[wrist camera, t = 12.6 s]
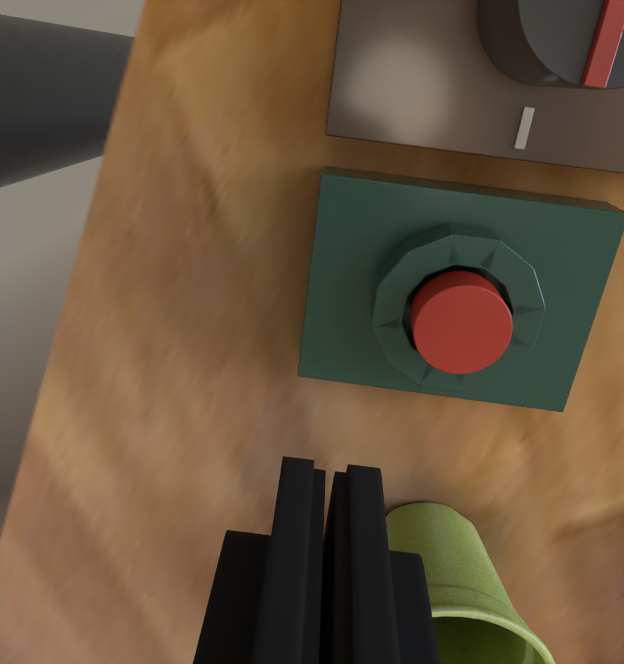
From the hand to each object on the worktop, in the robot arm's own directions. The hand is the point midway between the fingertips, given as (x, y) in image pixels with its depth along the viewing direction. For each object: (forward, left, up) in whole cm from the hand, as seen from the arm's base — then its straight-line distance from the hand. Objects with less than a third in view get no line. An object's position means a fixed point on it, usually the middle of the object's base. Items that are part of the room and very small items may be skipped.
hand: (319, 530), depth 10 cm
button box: (+5, -1, -18) cm, 18 cm away
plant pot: (+7, -16, -18) cm, 25 cm away
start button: (+5, -1, -14) cm, 15 cm away
